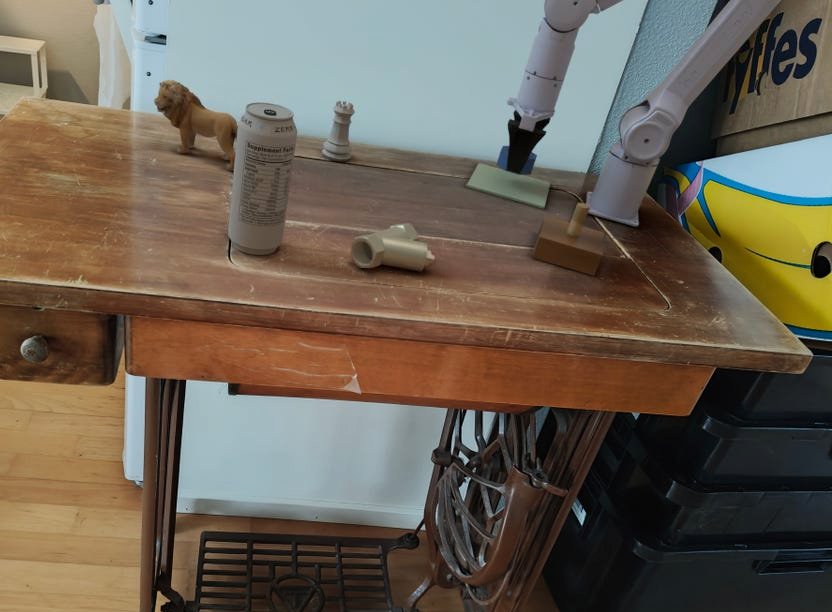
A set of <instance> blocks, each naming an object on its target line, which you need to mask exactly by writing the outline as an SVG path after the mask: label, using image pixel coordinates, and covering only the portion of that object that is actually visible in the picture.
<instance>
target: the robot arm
mask: <svg viewBox="0 0 832 612" xmlns="http://www.w3.org/2000/svg"><path fill="white" fill-rule="evenodd" d="M781 1H782V0H729V1H728V2H727V4H726V5H725V6H724V7H723V8H722V9H721V10H720V12H719V13H718V14H717V15H716V16H715V18H714V19H713V20H712V21H711V23H710V24H709V25H708V26H707V28H706V29H705V30H704V31H703V33H701V35H700V36H699V37H698V38H697V39H696V41H695V42H694V43H693V44H692V46H691V47H690V48H689V49H688V50H687V52H686V53H685V54H684V55H683V57H682V58H681V59H680V60H679V61H678V63H677V64H676V65H675V66H674V67H673V68H672V70H671V71H670V72H669V73H668V74H667V76H666V77H665V78H664V80H662V82H661V83H660V84H659V85H657V87H655V88H653V89H652V90H651V91H649V93H647V95H646V96H645V97H644V98H643V99H642V100H641V101H640V102H638V103H636V104H634V105H632V106H631V107H628V108H627V110H625V111H624V112H623V114H622V115H621V117H620V118H619V121H618V127H617V130H618V135H619V137H620V138H619V139H617V141H616V142H614V143H613V144H612V145H610V147H609V150H608V153H607V155H606V158H605V161H604V163H603V165H602V167H601V168H602V169H601V171H600V173H599V176H598V178H597V181H596V183H595V186H594V189H593V191H587V193H586V198H585V204H587V205H588V206H590V208H589V211H588V213H587V215H592V216H596V217H600V218H602V219H606V220H610V221H613V222H617V223H620V224H623V225H627V226H630V227H635V228H638V227H639V225H640V222H639V209H640V207H641V205H642V202H643V201H644V197H645V196H646V193H647V191H648V188H649V186H650V184H651V181H652V179H653V177H654V175H655V172H656V170H657V167H658V165H659V163H660V161H661V159H660V158H661V157H662V156H663V155H664V154H665V153H666V152H667V150H668V148H669V146H670V144H671V140H672V137H673V134H674V133H675V132H676V130H677V129H678V128H679V127H680V126H681V124H682V122H683V120H684V118H685V115H686V113H687V110H688V109H689V107H690V106H691V105H692V103H693V102H694V101H695V100H696V99H697V98H698V97H699V95H700V94H701V93H702V92H703V91H704V89H706V88H707V86H708V85H709V84H710V83H711V82H712V81H713V80H714V78H715V77H716V76H717V74H719V72H720V71H722V69H723V68H724V67H725V66H726V65H727V63H729V61H730V60H731V59H732V58H733V57H734V55H735V54H736V53H737V52H738V51H739V50H740V48H741V47H742V46H743V45H744V44H745V42H747V40H748V39H749V38H750V36H752V34H754V32H755V31H756V30H757V29H758V27H760V26H761V24H762V23H763V22H764V20H766V18H767V17H768V16H769V15H770V14H771V12H772V11H774V9H775V8H776V7H777V6H778V4H779V3H780V2H781ZM621 2H624V0H544V2H543V11H544V17H542V20H541V21H540V22H539V26H538V29H537V32H538V33H537V34H536V35H535V37H534V38H533V43H532V45H531V49H530V53H529V56H528V59H527V61H526V66H525V69H524V72H523V76H522V79H521V82H520V86H519V89H518V92H517V96H516V98H515V97H507V101H506V104H507V105H508V106H511V107H513V108H514V110H513V119H511V118H509V120H508V121H507V132H508V146H509V151H508V158H507V170H509V171H512V172H516V173H520V172H521V171H522V169H523V167H524V166H525V164H526V162H527V160H528V158H529V156H530V154H531V152H533V150H534V149H535V147H536V146H537V145H538V144H539V143H540V141H542V139H543V138H544V137H545V136H546V135H547V130H545V128H546V127H547V126H548V125H549V124H550V122H551V118H554V116H555V113H556V105H557V102H558V99H559V96H560V93H561V90H562V87H563V84H564V81H565V78H566V75H567V72H568V69H569V66H570V63H571V61H572V57H573V54H574V51H575V49H576V44H575V43H576V40H577V37H578V33H579V31H580V28H581V27H582V26H583V25H584V24H585V23H586V21H587V20H588V18H589V16H590V15H591V14H593V15H598V14H600V13H603V12H604V11H606V10H607V9H609V8H612V7H614V6H615V5H617V4H619V3H621Z"/></svg>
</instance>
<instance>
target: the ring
mask: <svg viewBox="0 0 832 612" xmlns="http://www.w3.org/2000/svg"><path fill="white" fill-rule="evenodd" d="M508 151H509V145H502V147H501V149H500V152H499V155H498V158H497V161H496V166H497V167H498V168H499V169H503V170H505V171H508V172H511V173H515V174H518V175H524V176H528V175H531V174H532V172H533V169H534V166H535V163H536V161H537V157H538V154H536V153H534V152H533V151H532V152H531V154H530V156H529V158H528V160H527V162H526V164H525V166H524V167H523V169H522V171H521V172H520V173H516V172H512V171H509V170H507V158H508Z"/></svg>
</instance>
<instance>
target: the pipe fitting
mask: <svg viewBox="0 0 832 612" xmlns="http://www.w3.org/2000/svg"><path fill="white" fill-rule="evenodd" d="M419 240H420V237H419V234H418V232H417V230H416V228H415V227H414V226H413V225H412V223H409V222H408V223H397V224H393V225H390V226H389V228H386V229H383V230H380V231H377V232H374V233H371V234H362V235H359V236H356V237H354V238H353V240H352V244H351V247H350V255H351V258H352V259H353V261H354V263H355V264H356V266H357V267H358V268H360V269H372V268H376V267H378V266H380V265H384V266H389V267H393V268H400V269H405V270H411V271H416V272H423V270H424V268H425V267H429V265H430V264H434V262H435V255H434V254H432V251H431V250H429V248H428V243H426V242H422V241H419Z"/></svg>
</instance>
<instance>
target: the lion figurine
mask: <svg viewBox="0 0 832 612" xmlns="http://www.w3.org/2000/svg"><path fill="white" fill-rule="evenodd" d="M158 84H159V89H158V94H157V97H155V98H154V100H153V103H154V105H155V106H156V110H157V112H158V113H162V115H163V116H164V117H165V118H166V119H168V120H169V121H170V125H171V126H172V127H174V128H176V129H178V130H179V134H180V140H181V147H177V150H176V151H177V153H178V154H181V155H182V154H186V153H188V152H189V150H190V149H193V148H194V146H195V142H196V136H197V135H199V136H201V137H203V138H204V137H205V138H215V137H216V140H217V143H218V145H219V147H220V149H221V150H222V152H223V153H224V154H222V155H221V159H223V160H225V161H230V163H227V164H226V170H227V171H228V172H229V171H230V172H232V171H233V172H234V164H235V153H236V152H235V150H234V145H235V141H236V142H237V131H238V123H237V121H236V120H237V119H235V117H234V116H233V115H231V114H230V113H227V112H220V111H219V112H218V111H215V110H211V109H209V108H206V107H205V106H204V105H203V103H202V101H201V99H200V98H199V97H198V96H197V95H195V93H194V92H191V90H190V89H189V88H188V87H187V86H185V85H184V84H182V83H181V82H179V81H176V80H172V79H166V80H162V82H159V83H158Z"/></svg>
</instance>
